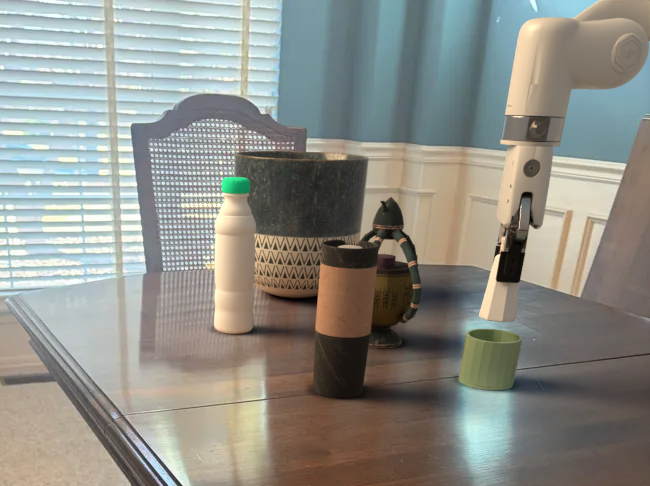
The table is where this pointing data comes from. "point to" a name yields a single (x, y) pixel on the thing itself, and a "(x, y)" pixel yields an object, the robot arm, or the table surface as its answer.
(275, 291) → the planter
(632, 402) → the table surface
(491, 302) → the salt shaker
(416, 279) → the teapot
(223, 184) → the water bottle
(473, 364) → the cup
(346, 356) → the travel mug
